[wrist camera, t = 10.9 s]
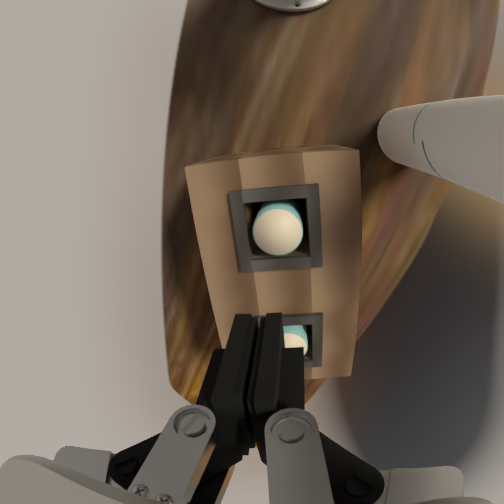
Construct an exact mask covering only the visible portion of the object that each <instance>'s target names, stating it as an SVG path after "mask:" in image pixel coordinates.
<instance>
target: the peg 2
mask: <svg viewBox="0 0 504 504" xmlns="http://www.w3.org/2000/svg"><path fill="white" fill-rule="evenodd" d="M283 329H284V341H285V348H294V347H304V355H305V354H306V352H307V350H308V340H307V325H292V326H283Z"/></svg>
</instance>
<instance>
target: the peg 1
mask: <svg viewBox="0 0 504 504" xmlns="http://www.w3.org/2000/svg"><path fill="white" fill-rule="evenodd" d="M302 237H303V227H302V220H301V213H300V206H299V200H298V198H297V199H284V200H272V201H262V204H261V206H260V209H259V211H258V214H257V217H256V219H255V222H254V225H253V238H254V241H255V243H256V244H257V246H258V247H259V248H260V249H261V250H263V251H264V252H266V253H268V254H271V255H276V256H280V255H286V254H288V253H290V252H292V251H294V250H295V249H296V248H297V247H298V246H299V244H300V243H301V240H302Z"/></svg>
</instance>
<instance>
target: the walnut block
mask: <svg viewBox="0 0 504 504" xmlns="http://www.w3.org/2000/svg"><path fill="white" fill-rule="evenodd" d="M185 173H186V179H187V185H188V190H189V196H190V202H191V207H192V212H193V218H194V223H195V228H196V233H197V238H198V243H199V248H200V253H201V258H202V263H203V268H204V272H205V277H206V282H207V286H208V291H209V295H210V299H211V304H212V308H213V312H214V317H215V321H216V325H217V329H218V333H219V337H220V341H221V345H222V349H225V348H226V344H227V341H228V337H229V334H230V331H231V327H232V324H233V320H234V317H235V314H251V315H252V317H257V320H258V327H259V325H260V319H261V317H266V313H277V312H282V318H283V326H292V325H307V340H308V350H307V352H306V354H305V355H304V379H320V378H333V377H344V376H351V371H352V364H353V355H354V348H355V340H356V330H357V320H358V308H359V295H360V278H361V251H362V198H361V172H360V156H359V150H357V149H353V148H348V147H344V146H339V145H317V146H302V147H289V148H278V149H267V150H258V151H249V152H241V153H234V154H226V155H219V156H216V157H213V158H209V159H206V160H203V161H200V162H197V163H195V164H192V165H189V166H186V167H185ZM297 198H302V202H303V215H304V216H301V220H302V227H303V237H302V240H301V243H300V244H299V246H298V247H297V248H296V249H295V250H294V251H292V252H290V253H288V254H286V255H280V256H276V255H271V254H268V253H266V252H264V251H263V250H261V249H260V248H259V247H258V246H257V244H256V243H255V241H254V238H253V225H254V222H255V219H256V217H257V214H258V211H259V209H260V206H261V204H262V202H261V201H272V200H284V199H297Z"/></svg>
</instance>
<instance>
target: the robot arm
mask: <svg viewBox="0 0 504 504" xmlns="http://www.w3.org/2000/svg"><path fill="white" fill-rule="evenodd" d="M254 1H256V2H257V3H259V4H261V5H263V6H266V7H268V8H271V9H275V10H279V11H287V12H302V11H309V10H313V9H316V8H319V7H321V6H323V5H325V4H327V3H328V2H330V1H331V0H254ZM296 6H299V7H296ZM255 443H257V447H258V450H259V454H260V458H261V461H262V462H263V463H264V464H266V465H267V473H268V487H269V501H270V504H492V503H491V502H490V501H488V500H486V499H482V498H476V497H463V496H464V478H463V474H462V472H461V471H460V470H459V469H457V468H456V467H453V466H440V467H428V468H406V469H392V470H391V471H378V470H377V469H376V468H374V467H373V466H371V465H369V464H368V463H366V462H364V461H363V460H361V459H360V458H358V457H357V456H355V455H353V454H352V453H350V452H349V451H347V450H345V449H344V448H343V447H341V446H340V445H338V444H337V443H335V442H334V441H332V440H331V439H329V438H328V437H326V436H325V435H324V434H322V433H321V432H320V431H319V429H318V424H317V422H316V419H315V418H314V416H313V415H311V414H310V413H309V412H307V411H305V410H304V347H294V348H285V341H284V329H283V318H282V312H277V313H266V317H261V319H260V325H259V327H258V320H257V317H252V315H251V314H235V317H234V320H233V324H232V327H231V331H230V334H229V337H228V341H227V344H226V348H225V349H215V350H214V352H213V354H212V357H211V360H210V363H209V366H208V369H207V372H206V375H205V378H204V381H203V384H202V387H201V390H200V393H199V396H198V399H197V402H196V405H187V406H185V407H182V408H180V409H178V410H177V411H176V412H174V414H173V415H172V416H171V417H170V419H169V421H168V422H167V424H166V426H165V428H164V429H163V431H162V432H161V433H159V434H157V435H155V436H153V437H151V438H149V439H147V440H145V441H142V442H140V443H138V444H136V445H134V446H131V447H129V448H127V449H125V450H123V451H120V452H119V453H117V454H113V453H112V452H111V451H102V450H94V449H86V448H80V447H73V446H65V447H63V448H61V449H60V450H59V451H58V452H57V454H56V456H55V459H54V461H52V460H49V459H47V458H43V457H39V456H33V455H19V456H14V457H12V458H10V459H8V460H7V461H6V462H5V463H4V464H3V465H2V466H1V468H0V504H221V501H222V499H223V496H224V494H225V491H226V489H227V486H228V483H229V481H230V479H231V476H232V474H233V471H234V468H235V464H236V463H238V462H239V461H241V460H242V456H243V455H248V454H249V448H254V447H255Z"/></svg>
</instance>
